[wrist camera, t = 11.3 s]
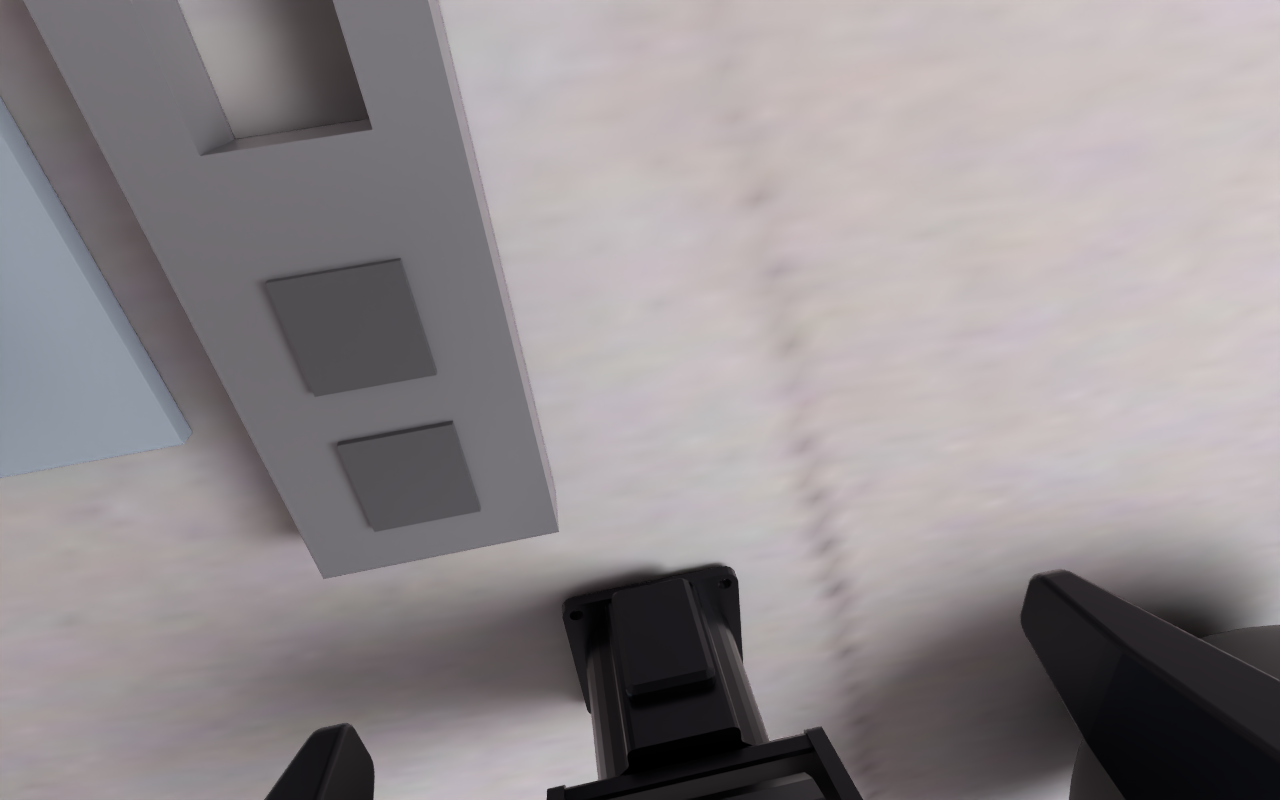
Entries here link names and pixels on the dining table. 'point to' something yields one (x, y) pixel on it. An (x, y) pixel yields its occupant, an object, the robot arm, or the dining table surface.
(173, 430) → the mat
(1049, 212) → the dining table surface
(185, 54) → the power strip
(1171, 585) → the dining table surface
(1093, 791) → the coal bowl
